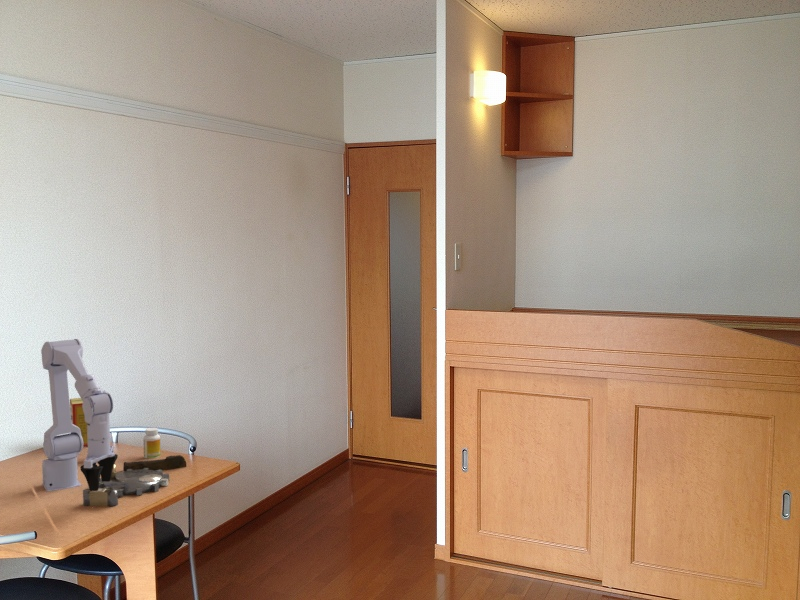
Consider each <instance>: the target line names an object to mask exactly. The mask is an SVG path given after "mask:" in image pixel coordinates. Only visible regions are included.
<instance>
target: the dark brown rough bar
mask: <svg viewBox="0 0 800 600" xmlns="http://www.w3.org/2000/svg"><path fill="white" fill-rule="evenodd" d="M186 467H187V461H186V459H185V457H184V456H182V455H180V454H178V455H177V454H176V455H168V456H166V457H165V458H162V459H152V460H144V461H143V460H138V461H137V460H136V461H131V462H129V461H124V462H123V468H122V469H123V471H127V469H132V470H138V469H144V468H149V470H155V471H156V470H159V469H160V470H163V471H164V470H177V469H181V468H186ZM123 471H122V472H123Z"/></svg>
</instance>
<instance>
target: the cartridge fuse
mask: <svg viewBox="0 0 800 600" xmlns="http://www.w3.org/2000/svg"><path fill="white" fill-rule="evenodd" d="M82 505H83V506H84V507H108V508H110V507H111V508H112V507H116V506H118V505H119V497H118V490H117V489H103V488H99V489H98V491H90V489H89V487H88V488H85V489H82Z"/></svg>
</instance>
